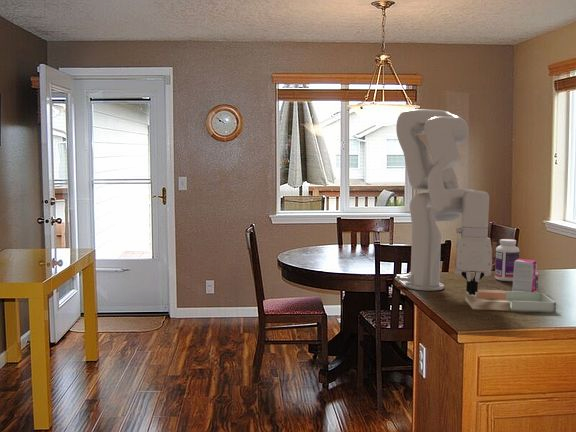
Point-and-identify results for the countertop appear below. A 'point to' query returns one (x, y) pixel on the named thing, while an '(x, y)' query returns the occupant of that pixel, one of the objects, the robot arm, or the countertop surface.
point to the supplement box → (524, 275)
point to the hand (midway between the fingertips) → (471, 293)
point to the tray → (530, 302)
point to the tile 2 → (498, 294)
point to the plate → (487, 303)
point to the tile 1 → (484, 294)
